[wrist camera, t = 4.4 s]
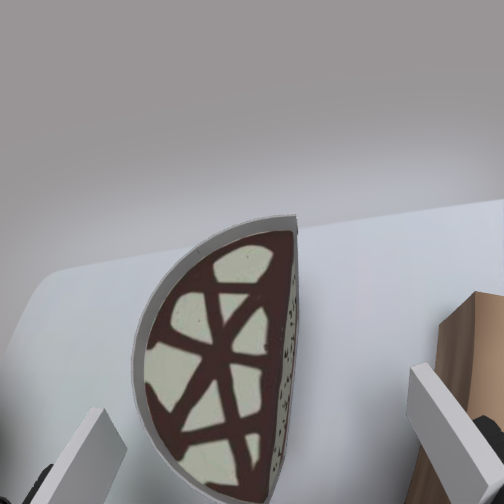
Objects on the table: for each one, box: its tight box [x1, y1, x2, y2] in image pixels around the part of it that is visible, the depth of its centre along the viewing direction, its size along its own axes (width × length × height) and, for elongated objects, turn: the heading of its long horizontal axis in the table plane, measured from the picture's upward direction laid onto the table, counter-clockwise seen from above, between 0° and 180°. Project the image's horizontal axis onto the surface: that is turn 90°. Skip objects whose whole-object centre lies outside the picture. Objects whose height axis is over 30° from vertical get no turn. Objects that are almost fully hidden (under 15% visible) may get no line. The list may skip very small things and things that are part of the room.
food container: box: [131, 214, 299, 504], centre depth 15 cm, size 12×6×10 cm, turn 173°
